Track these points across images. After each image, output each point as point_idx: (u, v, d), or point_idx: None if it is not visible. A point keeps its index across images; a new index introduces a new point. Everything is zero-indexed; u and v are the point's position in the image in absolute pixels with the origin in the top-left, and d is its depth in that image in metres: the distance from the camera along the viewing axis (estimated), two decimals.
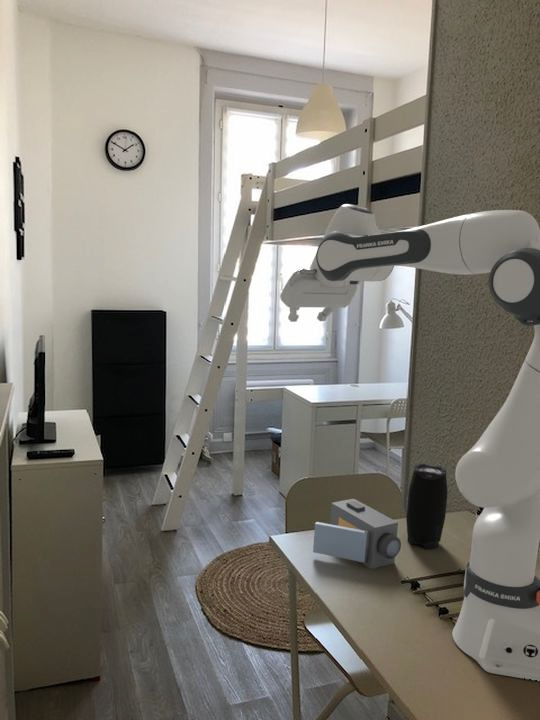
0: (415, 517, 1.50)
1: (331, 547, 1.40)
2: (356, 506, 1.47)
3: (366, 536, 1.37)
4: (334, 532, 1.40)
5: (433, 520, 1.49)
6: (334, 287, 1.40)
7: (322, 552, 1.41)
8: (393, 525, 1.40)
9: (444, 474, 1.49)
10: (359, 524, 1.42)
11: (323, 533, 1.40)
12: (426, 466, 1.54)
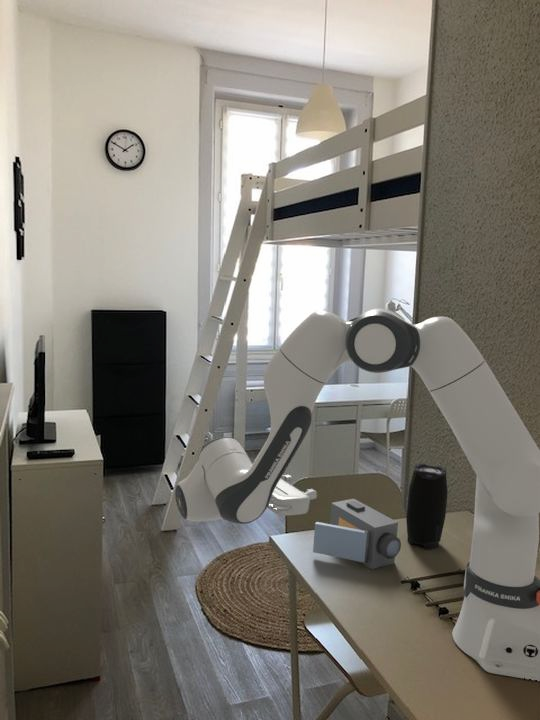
0: (415, 517, 1.50)
1: (331, 547, 1.40)
2: (356, 506, 1.47)
3: (366, 536, 1.37)
4: (334, 532, 1.40)
5: (433, 520, 1.49)
6: None
7: (322, 552, 1.41)
8: (393, 525, 1.40)
9: (444, 474, 1.49)
10: (359, 524, 1.42)
11: (323, 533, 1.40)
12: (426, 466, 1.54)
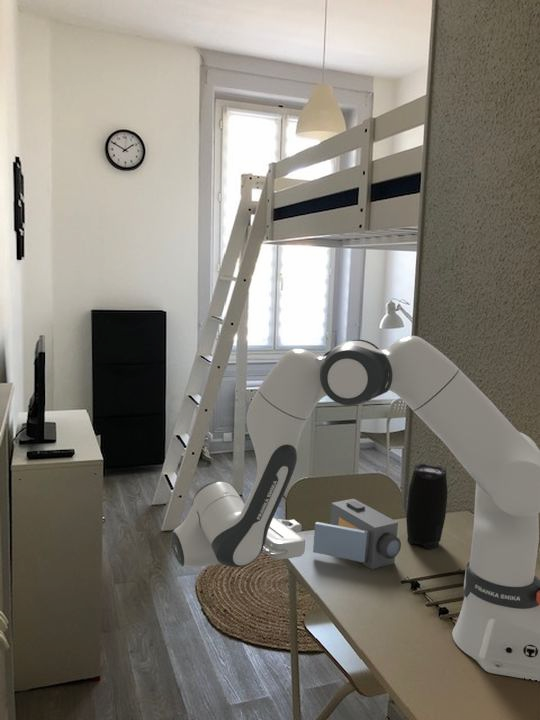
0: (415, 517, 1.50)
1: (331, 547, 1.40)
2: (356, 506, 1.47)
3: (366, 536, 1.37)
4: (334, 532, 1.40)
5: (433, 520, 1.49)
6: None
7: (322, 552, 1.41)
8: (393, 525, 1.40)
9: (444, 474, 1.49)
10: (359, 524, 1.42)
11: (323, 533, 1.40)
12: (426, 466, 1.54)
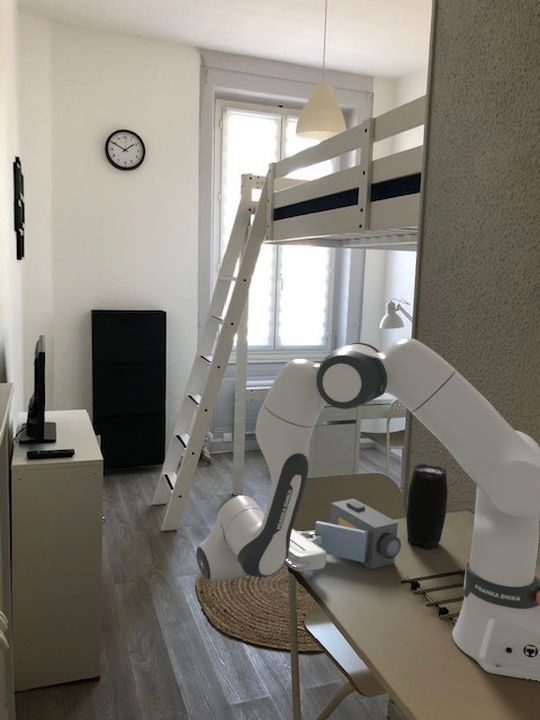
0: (415, 517, 1.50)
1: (331, 547, 1.41)
2: (356, 506, 1.47)
3: (366, 536, 1.37)
4: (334, 531, 1.40)
5: (433, 520, 1.49)
6: None
7: None
8: (393, 525, 1.40)
9: (444, 474, 1.49)
10: (359, 524, 1.42)
11: (324, 532, 1.41)
12: (426, 466, 1.54)
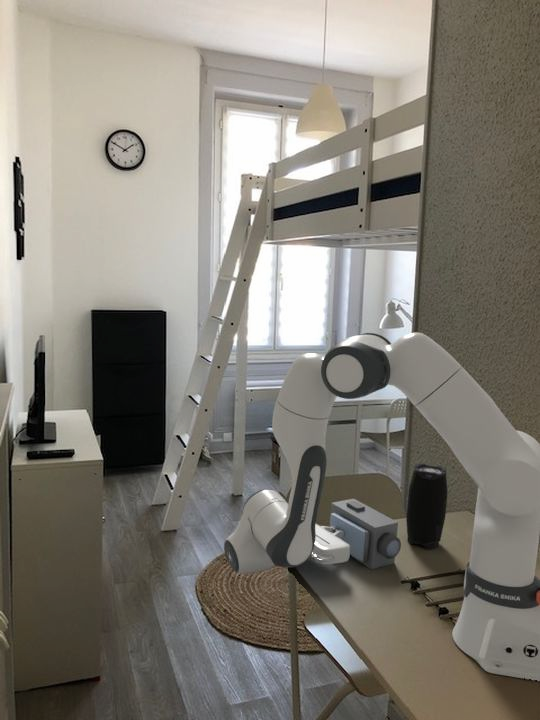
0: (415, 517, 1.50)
1: None
2: (356, 506, 1.47)
3: (365, 536, 1.38)
4: (343, 525, 1.44)
5: (433, 520, 1.49)
6: None
7: None
8: (393, 525, 1.40)
9: (444, 474, 1.49)
10: (359, 524, 1.42)
11: (335, 524, 1.46)
12: (426, 466, 1.54)
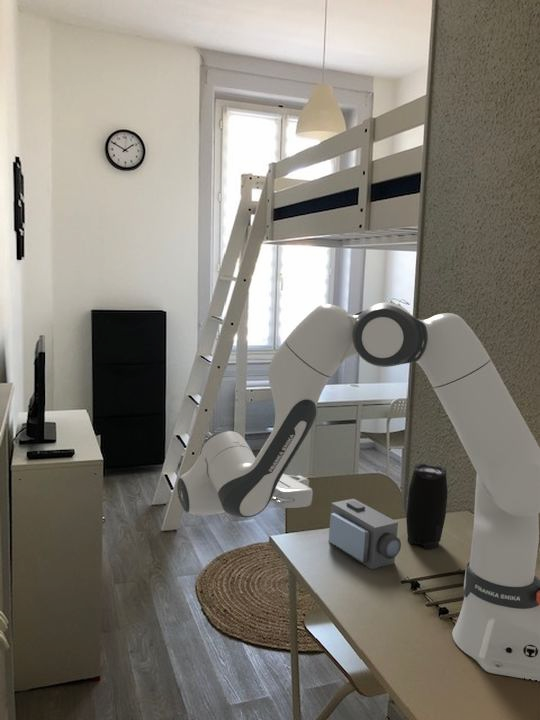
0: (415, 517, 1.50)
1: (340, 540, 1.44)
2: (356, 506, 1.47)
3: (365, 536, 1.38)
4: (343, 525, 1.44)
5: (433, 520, 1.49)
6: None
7: (334, 543, 1.46)
8: (393, 525, 1.40)
9: (444, 474, 1.49)
10: (359, 524, 1.42)
11: (336, 524, 1.46)
12: (426, 466, 1.54)
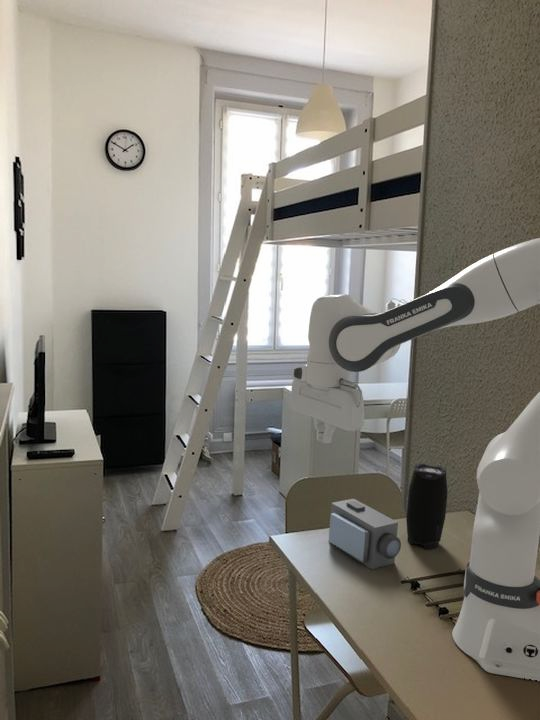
0: (415, 517, 1.50)
1: (340, 540, 1.44)
2: (356, 506, 1.47)
3: (365, 536, 1.38)
4: (343, 525, 1.44)
5: (433, 520, 1.49)
6: None
7: (334, 543, 1.46)
8: (393, 525, 1.40)
9: (444, 474, 1.49)
10: (359, 524, 1.42)
11: (336, 524, 1.46)
12: (426, 466, 1.54)
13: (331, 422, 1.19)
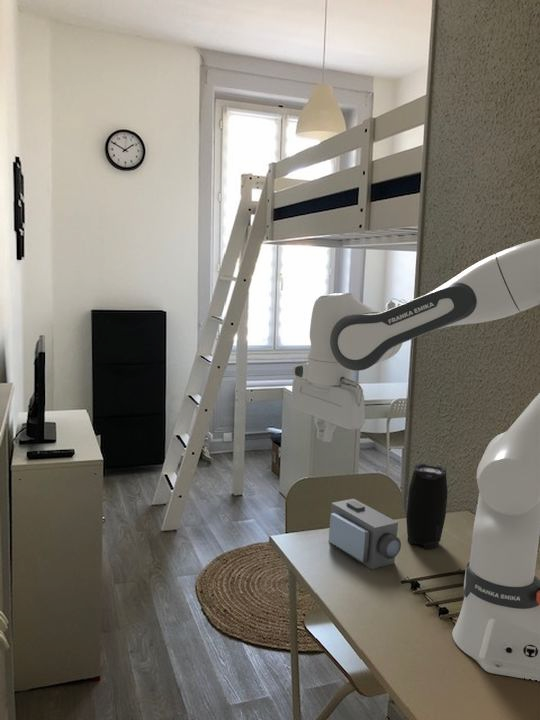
0: (415, 517, 1.50)
1: (340, 540, 1.44)
2: (356, 506, 1.47)
3: (365, 536, 1.38)
4: (343, 525, 1.44)
5: (433, 520, 1.49)
6: None
7: (334, 543, 1.46)
8: (393, 525, 1.40)
9: (444, 474, 1.49)
10: (359, 524, 1.42)
11: (336, 524, 1.46)
12: (426, 466, 1.54)
13: (332, 420, 1.19)
